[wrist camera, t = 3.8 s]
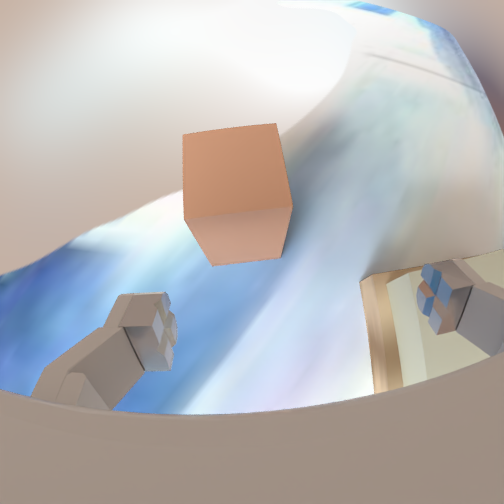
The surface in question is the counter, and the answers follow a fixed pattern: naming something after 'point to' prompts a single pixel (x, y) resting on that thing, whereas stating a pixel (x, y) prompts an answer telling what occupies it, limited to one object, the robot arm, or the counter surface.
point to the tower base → (382, 329)
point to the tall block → (236, 193)
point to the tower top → (422, 335)
